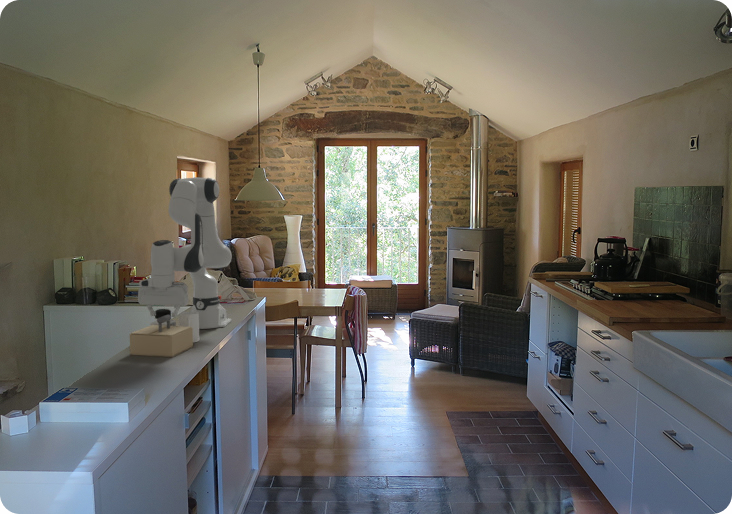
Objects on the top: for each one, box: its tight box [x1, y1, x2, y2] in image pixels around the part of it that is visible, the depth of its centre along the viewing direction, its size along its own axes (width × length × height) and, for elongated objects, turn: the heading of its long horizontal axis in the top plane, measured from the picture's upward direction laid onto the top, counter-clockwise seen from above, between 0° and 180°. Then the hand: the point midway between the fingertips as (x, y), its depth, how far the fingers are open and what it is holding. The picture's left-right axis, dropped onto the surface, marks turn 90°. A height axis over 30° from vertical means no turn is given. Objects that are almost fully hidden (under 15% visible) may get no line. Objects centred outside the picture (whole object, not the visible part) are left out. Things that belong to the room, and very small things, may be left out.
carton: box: [129, 325, 194, 358], centre depth 231 cm, size 16×18×8 cm
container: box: [149, 308, 177, 326], centre depth 250 cm, size 8×8×13 cm
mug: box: [178, 310, 201, 344], centre depth 245 cm, size 12×8×12 cm
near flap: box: [151, 315, 191, 336], centre depth 229 cm, size 15×9×6 cm, turn 169°
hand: (163, 316), depth 229 cm, fingers open, 8 cm apart
